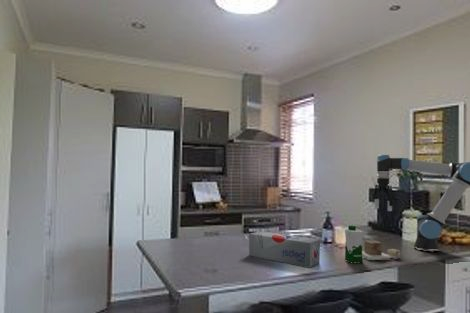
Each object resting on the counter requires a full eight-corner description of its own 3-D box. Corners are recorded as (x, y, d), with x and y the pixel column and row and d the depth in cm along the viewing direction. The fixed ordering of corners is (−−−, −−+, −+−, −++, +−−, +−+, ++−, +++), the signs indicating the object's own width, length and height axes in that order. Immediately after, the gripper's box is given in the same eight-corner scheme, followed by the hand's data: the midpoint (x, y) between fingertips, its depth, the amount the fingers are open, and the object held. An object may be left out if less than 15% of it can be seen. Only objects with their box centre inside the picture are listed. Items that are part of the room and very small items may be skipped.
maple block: (392, 257, 219) (392, 248, 219) (399, 258, 215) (399, 250, 215) (387, 258, 216) (387, 249, 216) (394, 259, 212) (395, 251, 212)
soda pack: (320, 264, 199) (320, 239, 200) (310, 269, 189) (310, 242, 190) (259, 252, 224) (260, 229, 225) (247, 255, 214) (248, 232, 215)
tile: (376, 254, 224) (376, 250, 224) (390, 260, 211) (390, 256, 211) (356, 255, 221) (356, 251, 221) (369, 261, 207) (369, 256, 208)
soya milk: (355, 259, 211) (356, 225, 211) (365, 263, 202) (365, 227, 203) (342, 260, 208) (343, 225, 209) (351, 264, 200) (352, 228, 200)
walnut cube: (374, 251, 220) (374, 240, 220) (381, 254, 213) (381, 242, 213) (364, 252, 219) (364, 240, 219) (371, 255, 212) (371, 243, 212)
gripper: (367, 177, 251) (366, 207, 250) (390, 178, 227) (390, 212, 226) (376, 177, 253) (376, 207, 252) (400, 178, 228) (400, 211, 228)
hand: (383, 209), depth 239 cm, fingers open, 13 cm apart
